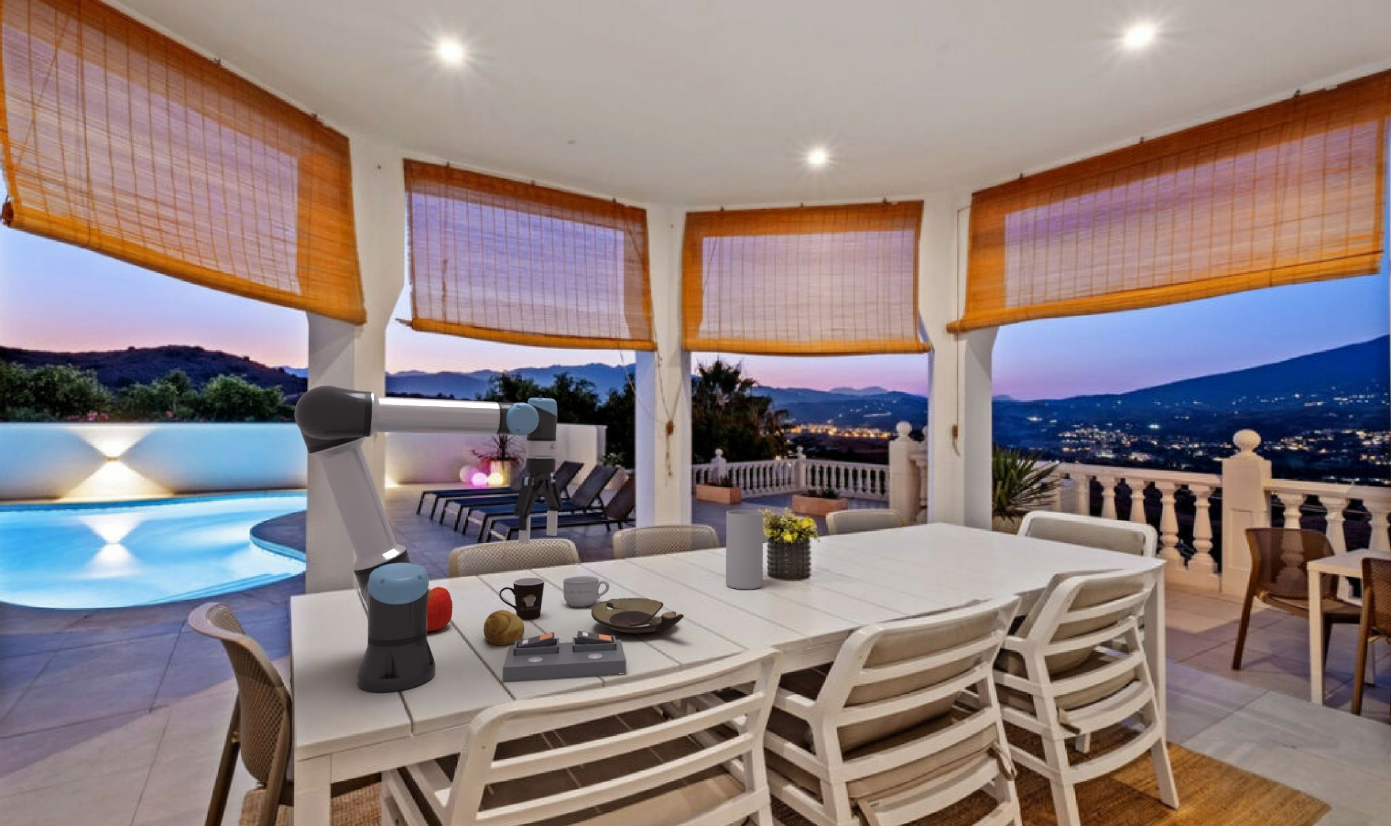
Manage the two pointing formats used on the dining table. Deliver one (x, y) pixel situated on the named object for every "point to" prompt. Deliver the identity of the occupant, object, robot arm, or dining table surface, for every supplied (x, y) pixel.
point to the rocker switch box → (563, 660)
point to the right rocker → (593, 638)
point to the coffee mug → (527, 597)
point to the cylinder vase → (744, 549)
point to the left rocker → (537, 641)
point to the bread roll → (503, 628)
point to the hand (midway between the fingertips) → (538, 539)
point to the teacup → (582, 590)
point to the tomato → (438, 608)
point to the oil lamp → (634, 615)
